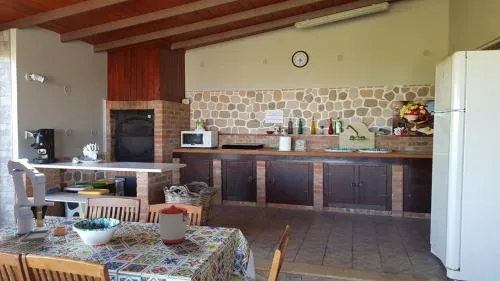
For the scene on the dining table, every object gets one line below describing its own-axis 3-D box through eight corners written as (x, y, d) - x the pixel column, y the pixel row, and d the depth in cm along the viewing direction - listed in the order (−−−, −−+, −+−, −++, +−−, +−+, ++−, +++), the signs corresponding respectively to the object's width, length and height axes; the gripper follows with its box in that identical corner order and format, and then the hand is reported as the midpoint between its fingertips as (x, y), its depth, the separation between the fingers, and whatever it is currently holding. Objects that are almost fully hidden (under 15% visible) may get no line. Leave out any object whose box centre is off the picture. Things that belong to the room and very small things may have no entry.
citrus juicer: (184, 246, 190) (183, 208, 189) (153, 244, 193) (153, 207, 192) (194, 237, 205) (194, 202, 204) (166, 235, 208) (165, 201, 208)
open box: (56, 233, 212) (56, 226, 212) (67, 232, 214) (67, 225, 214) (54, 236, 207) (54, 229, 207) (65, 235, 209) (65, 228, 208)
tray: (29, 234, 211) (29, 231, 211) (50, 232, 214) (50, 229, 214) (21, 242, 196) (21, 239, 195) (44, 240, 199) (44, 237, 199)
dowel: (37, 226, 206) (37, 212, 206) (43, 225, 207) (43, 211, 207) (36, 227, 204) (36, 213, 203) (42, 226, 205) (42, 212, 204)
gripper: (22, 197, 199) (23, 221, 199) (52, 195, 203) (52, 219, 204) (26, 195, 205) (26, 218, 206) (54, 193, 210) (55, 216, 211)
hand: (39, 219), depth 205 cm, fingers closed on dowel, 3 cm apart
